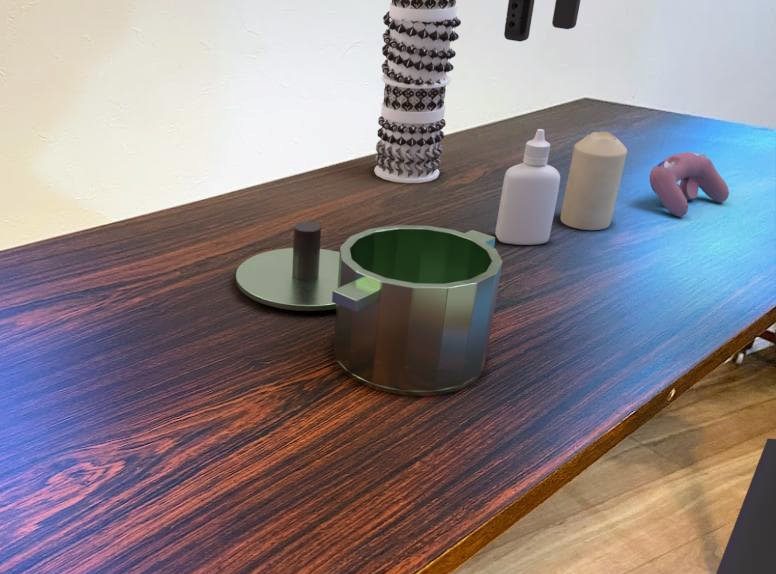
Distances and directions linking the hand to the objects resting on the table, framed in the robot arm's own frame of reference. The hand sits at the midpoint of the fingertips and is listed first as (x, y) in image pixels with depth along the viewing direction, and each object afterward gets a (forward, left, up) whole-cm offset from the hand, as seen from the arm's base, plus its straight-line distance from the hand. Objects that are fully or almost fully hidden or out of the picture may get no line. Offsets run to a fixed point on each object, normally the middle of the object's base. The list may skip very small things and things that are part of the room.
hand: (539, 33), depth 87 cm
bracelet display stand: (+22, -11, -22) cm, 33 cm away
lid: (+7, +24, -21) cm, 32 cm away
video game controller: (-8, -26, -22) cm, 35 cm away
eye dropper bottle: (-1, -2, -22) cm, 22 cm away
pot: (-9, +28, -22) cm, 36 cm away
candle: (-3, -12, -22) cm, 25 cm away
